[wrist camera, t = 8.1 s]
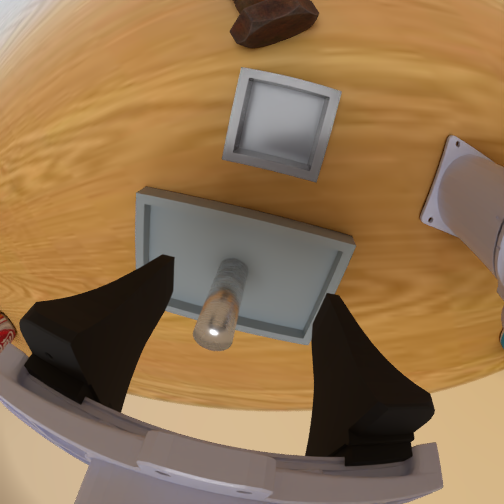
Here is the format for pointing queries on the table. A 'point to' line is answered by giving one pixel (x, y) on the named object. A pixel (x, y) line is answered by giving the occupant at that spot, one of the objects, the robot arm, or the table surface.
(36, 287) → the table surface
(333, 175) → the table surface
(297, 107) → the shallow square open box
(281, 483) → the robot arm
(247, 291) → the tray
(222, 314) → the steel pin
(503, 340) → the beverage bottle
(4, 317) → the soda can
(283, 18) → the bolt
